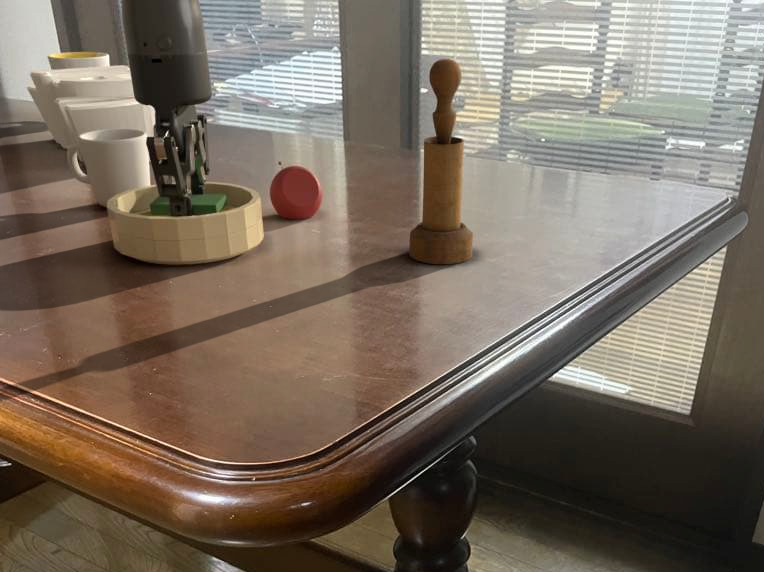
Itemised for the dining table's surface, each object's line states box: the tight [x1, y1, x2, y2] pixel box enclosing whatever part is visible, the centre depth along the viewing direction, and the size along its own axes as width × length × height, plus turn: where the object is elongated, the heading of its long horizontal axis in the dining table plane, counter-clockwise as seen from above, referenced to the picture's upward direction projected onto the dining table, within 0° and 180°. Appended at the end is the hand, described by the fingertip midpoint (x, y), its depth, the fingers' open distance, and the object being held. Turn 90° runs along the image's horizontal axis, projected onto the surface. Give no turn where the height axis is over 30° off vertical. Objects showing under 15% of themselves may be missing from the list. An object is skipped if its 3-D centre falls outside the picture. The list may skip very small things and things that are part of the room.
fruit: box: [269, 161, 323, 220], centre depth 103 cm, size 6×6×8 cm
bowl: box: [106, 181, 265, 266], centre depth 93 cm, size 16×16×5 cm
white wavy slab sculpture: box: [26, 64, 155, 163], centre depth 133 cm, size 35×16×11 cm, turn 27°
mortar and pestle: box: [409, 58, 474, 265], centre depth 86 cm, size 7×6×18 cm
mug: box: [46, 51, 111, 70], centre depth 156 cm, size 14×10×10 cm
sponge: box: [150, 194, 228, 217], centre depth 93 cm, size 7×4×4 cm, turn 86°
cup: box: [66, 129, 151, 208], centre depth 106 cm, size 11×8×8 cm
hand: (191, 228), depth 94 cm, fingers closed on sponge, 4 cm apart
